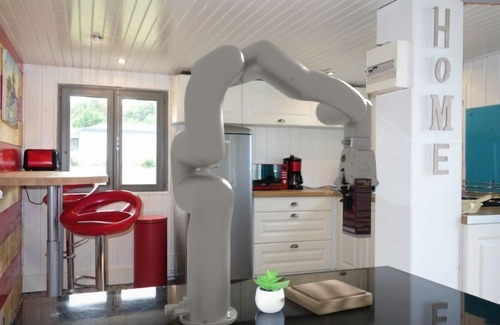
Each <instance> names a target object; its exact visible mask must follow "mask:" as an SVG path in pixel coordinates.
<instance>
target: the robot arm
mask: <svg viewBox="0 0 500 325" xmlns="http://www.w3.org/2000/svg"><path fill="white" fill-rule="evenodd" d="M259 79H260V80H262V81H263V82H264V83H266V84H268V85H270V86H271V87H272V88H274V89H275V90H278V91H279V92H280V93H282V94H283V95H284V96H286V97H287V98H289V99H292V100H297V101H305V102H313V103H314V102H315V103H318V104H317V106H316V109H315V116H316V119H317V120H318V121H319V123H321V124H323V125H324V126H329V127H330V126H332V127H333V126H343V139H342V140H340V143H341V145H343V147H342V148H343V149H341V152H340V158H339V166H338V169H339V170H338V175H337V177H336V179H334V181H333V184H334V186H335V187H336V188H337V189H338V191H339V192H340V195H341V196H342V211H343V210H346V211H352V199H353V198H352V196H350V195H351V192H352V189H353V186H355V178H367V179H372V182H371V197H372V196H373V194H374V191H375V190H376V188H377V187H378V186H379V184H380V182H379V180H378V179H377V178H378V176H377V175H378V174H377V161H376V160H377V159H376V155H375V154H376V153H375V151H374V149H372V140H373V139H372V136H373V135H372V134H373V133H372V132H373V131H372V130H373V129H372V127H373V124H372V123H373V116H372V115H373V106H372V105H373V104H372V103H371V101H370V100H368V99H364V96H363V95H362V94H360V92H359V91H357V90H356V89H355V88H353V87H352V86H351V85H350V84H348V83H347V82H345V81H344V80H341V79H339V78H336V77H334V76H331V75H329V74H325V73H323V72H319V71H315V70H311V69H309V68H307V66H305V65H303V64H302V63H301V62H299V61H298V60H296V59H295V58H294V57H293V56H291V55H290V54H288V53H287V52H286V51H284V50H282V49H281V48H280V47H278V46H277V45H276V44H274V43H273V42H272V41H269V40H266V39H265V40H264V39H261V40H260V39H259V40H257V41H255V42H252V43H250V44H249V45H247V46H245V47H242V48H241V49H240V48H239V47H238V46H235V45H233V44H224V45H221V46H218V47H216V48H214V49H213V50H211V51H209V52H208V53H207V54H204V55H203V56H201V57H200V58H198V59H197V60H196V61H195V62H194V63H193V65H192V67H191V71H190V77H189V79H188V81H187V84H186V86H185V92H184V100H183V102H184V103H183V108H184V114H183V115H184V116H183V117H184V129H182V130H180V131H179V132H178V133H176V135H175V136H174V138H173V140H172V142H171V146H170V152H169V153H170V154H169V155H170V156H169V157H170V169H171V170H170V172H171V182H172V183H171V184H172V194H173V197H174V201H175V204H176V206H177V207H178V208H179V209H180V210H182V211H183V212H185V213H187V214H190V215H189V216H190V217H189V222H188V226H187V232H186V296H182V300H181V301H178V303H169V304H165V305H164V313H165V315H170V314H173V316H174V317H177V316H178V317H179V321H180V323H181V324H183V325H232V323H234V322H235V321H236V320H237V319H238V312H237V311H238V310H236V309H235V307H232V306H231V230H232V229H231V227H232V219H233V218H232V217H233V213H234V207H235V192H234V190H233V187H232V185H231V184H230V183H229V182H228V181H227V179H225V178H224V177H222V176H219V175H218V174H212V173H211V174H210V169H211V168H214V167H217V166H218V165H219V164H221V163H222V161H224V158H225V154H226V137H225V123H224V100H225V96H226V94H227V92H228V90H229V88H233V87H237V86H241V85H244V84H247V83H250V82H253V81H256V80H259ZM348 183H349V184H348ZM347 187H348V189H347Z"/></svg>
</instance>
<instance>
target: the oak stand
mask: <svg viewBox="0 0 500 325" xmlns="http://www.w3.org/2000/svg"><path fill="white" fill-rule="evenodd" d="M285 298H286V299H288V300H290V301H292V302H294V303H295V304H298V305H300V306H301V307H303V308H305V309H306V310H309V311H311V312H312V313H314V314H316V315H326V314H331V313H335V312H340V311H345V310H350V309H355V308H356V309H357V308H361V307H366V306H370V305H371V306H372V305H373V293H371V292H369V291H366V290H363V289H362V288H358V287H356V286H353V285H351V284H348V283H346V282H343V281H340V280H337V279H328V280H322V281H321V280H320V281H315V282H308V283H302V284H295V285H291V286H287V287H285Z"/></svg>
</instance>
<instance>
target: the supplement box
mask: <svg viewBox="0 0 500 325" xmlns="http://www.w3.org/2000/svg"><path fill="white" fill-rule="evenodd" d="M371 182H372V179H367V178H355V186H353V189H352V192H351V195H350V196H352V198H353V199H352V211H346V210H343V209H342V232H341V233H342V234H344V235H347V236H349V237H353V238H355V239H363V238H364V239H366V238H367V239H368V238H372V196H371ZM348 184H349V183H348ZM347 189H348V187H347Z"/></svg>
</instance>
